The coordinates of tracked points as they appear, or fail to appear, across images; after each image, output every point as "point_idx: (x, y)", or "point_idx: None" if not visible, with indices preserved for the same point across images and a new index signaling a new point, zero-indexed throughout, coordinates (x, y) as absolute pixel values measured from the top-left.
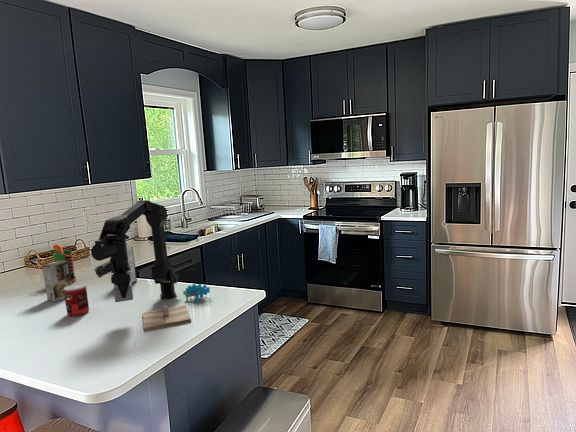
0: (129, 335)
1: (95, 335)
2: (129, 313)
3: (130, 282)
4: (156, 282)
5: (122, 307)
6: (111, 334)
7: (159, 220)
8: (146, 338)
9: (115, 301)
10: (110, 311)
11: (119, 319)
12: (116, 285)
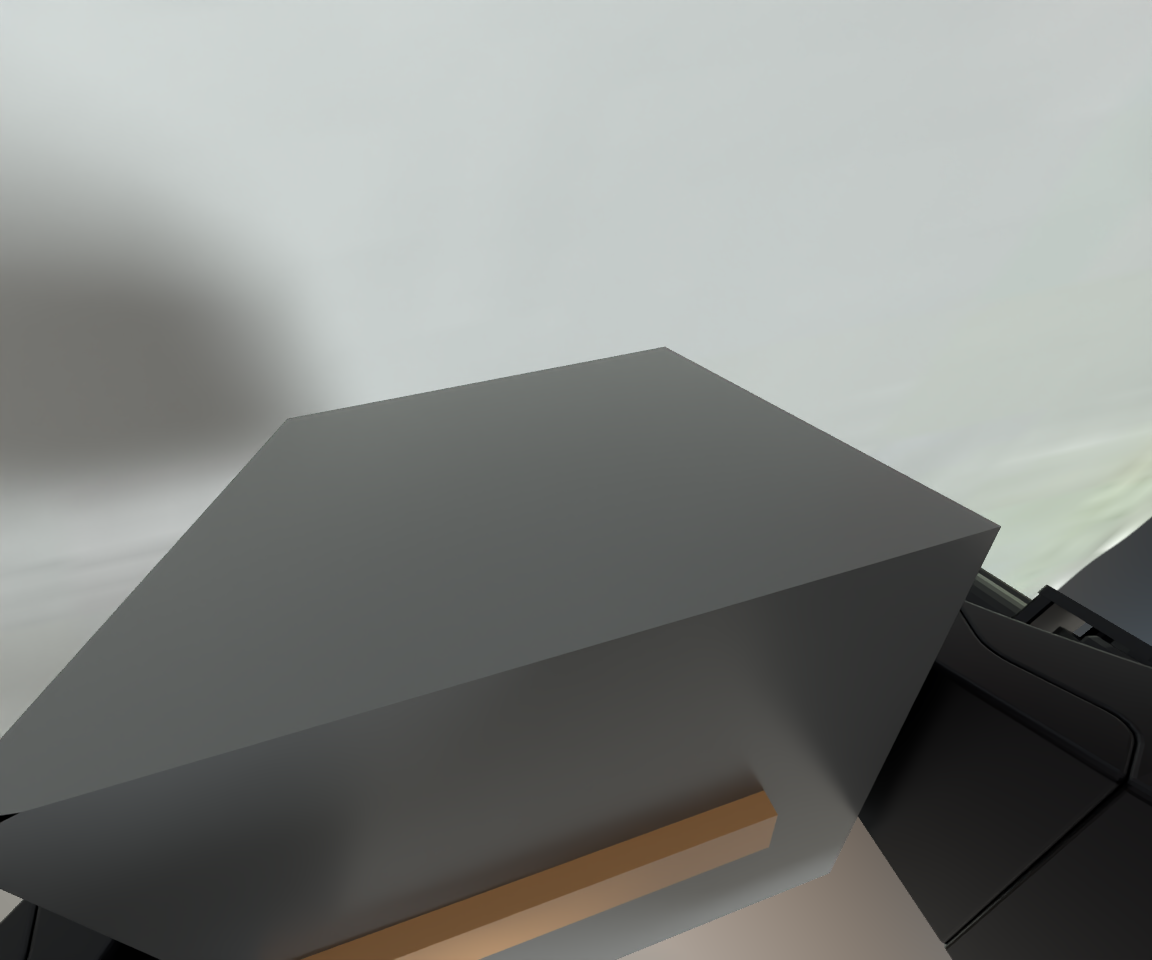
0: (68, 497)
1: (14, 14)
2: (709, 367)
3: (732, 903)
4: (1051, 601)
5: (918, 261)
6: (83, 286)
7: None
8: (2, 648)
9: (281, 435)
10: (893, 128)
11: (584, 293)
12: (607, 731)
